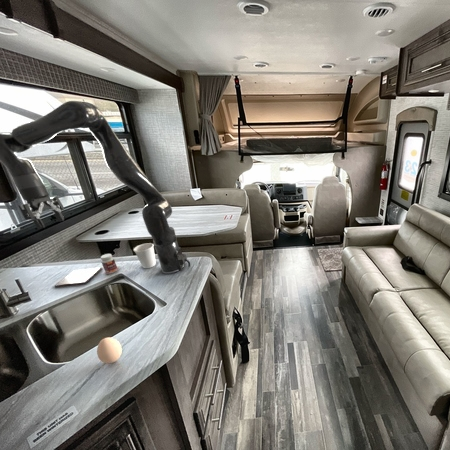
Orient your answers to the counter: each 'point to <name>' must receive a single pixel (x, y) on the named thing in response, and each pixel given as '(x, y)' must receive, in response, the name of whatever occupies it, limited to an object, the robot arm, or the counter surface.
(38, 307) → the counter surface
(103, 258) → the pill bottle
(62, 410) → the counter surface
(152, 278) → the counter surface
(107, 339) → the egg
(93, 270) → the mat
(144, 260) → the dixie cup
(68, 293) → the counter surface
